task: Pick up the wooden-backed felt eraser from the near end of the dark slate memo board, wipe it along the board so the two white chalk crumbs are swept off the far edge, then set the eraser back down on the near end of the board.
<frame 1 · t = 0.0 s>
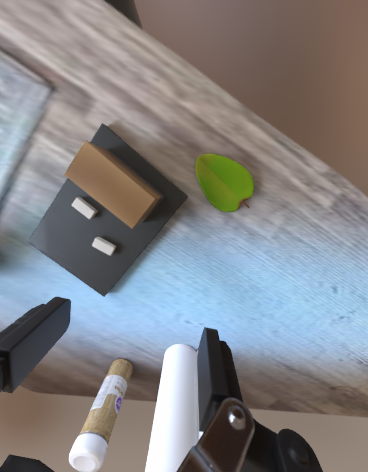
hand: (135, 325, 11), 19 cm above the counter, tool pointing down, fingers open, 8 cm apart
decorative leaf: (222, 185, 27), on the counter
eraser: (127, 186, 27), point 1 cm above the counter, touching memo board
memo board: (106, 219, 29), on the counter
chalk stroke 1: (86, 207, 28), point 1 cm above the counter, touching memo board
vase: (193, 359, 36), on the counter
sprinkles bottle: (122, 365, 37), on the counter
chalk stroke 2: (105, 245, 29), point 1 cm above the counter, touching memo board
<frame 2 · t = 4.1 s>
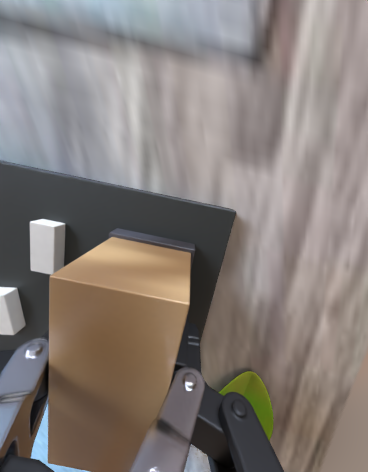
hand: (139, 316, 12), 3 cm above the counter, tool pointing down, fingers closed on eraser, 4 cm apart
decorative leaf: (228, 411, 17), on the counter
eraser: (144, 303, 13), point 1 cm above the counter, touching gripper, memo board
memo board: (64, 276, 14), on the counter
chalk stroke 1: (53, 244, 12), point 1 cm above the counter, touching memo board
chalk stroke 2: (12, 306, 13), point 1 cm above the counter, touching memo board
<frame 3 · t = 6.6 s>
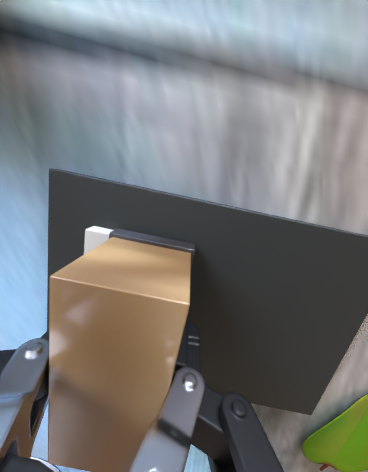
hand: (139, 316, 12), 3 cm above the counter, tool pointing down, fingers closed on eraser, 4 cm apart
decorative leaf: (338, 431, 17), on the counter
eraser: (144, 303, 13), point 1 cm above the counter, touching chalk stroke 2, gripper
memo board: (200, 301, 14), on the counter
chalk stroke 1: (103, 251, 12), point 1 cm above the counter, touching memo board
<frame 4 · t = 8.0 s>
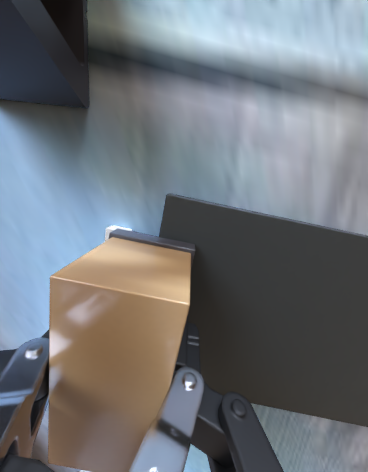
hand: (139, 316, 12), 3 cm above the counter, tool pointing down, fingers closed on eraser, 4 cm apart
eraser: (144, 303, 13), point 1 cm above the counter, touching gripper
phone stand: (36, 14, 10), on the counter
memo board: (290, 320, 14), on the counter
chalk stroke 1: (114, 252, 12), point 1 cm above the counter, tilted 180°
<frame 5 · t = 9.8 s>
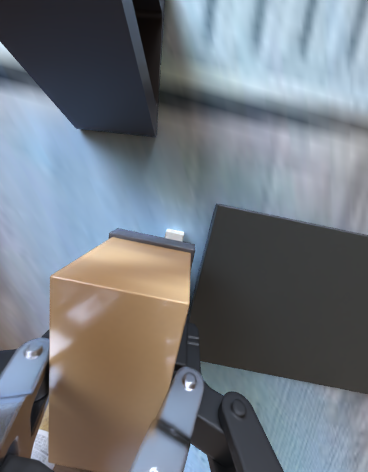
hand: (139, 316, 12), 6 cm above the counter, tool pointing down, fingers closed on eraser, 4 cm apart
eraser: (144, 303, 13), point 4 cm above the counter, touching gripper
phone stand: (119, 65, 13), on the counter
memo board: (310, 306, 17), on the counter
chalk stroke 1: (171, 251, 15), point 1 cm above the counter, tilted 180°
sprinkles bottle: (64, 403, 22), on the counter
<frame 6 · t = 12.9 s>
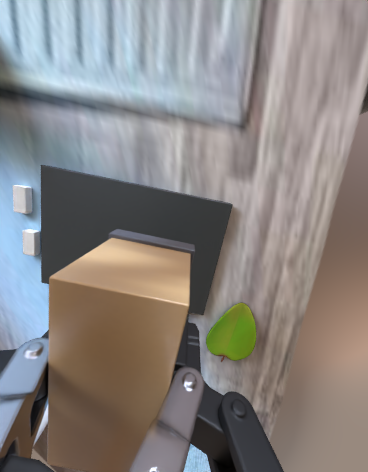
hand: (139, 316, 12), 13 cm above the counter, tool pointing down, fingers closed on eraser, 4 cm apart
decorative leaf: (229, 332, 27), on the counter
eraser: (144, 303, 13), point 11 cm above the counter, touching gripper
memo board: (132, 243, 24), on the counter
chalk stroke 1: (19, 199, 22), point 1 cm above the counter, tilted 180°
chalk stroke 2: (28, 243, 23), point 1 cm above the counter, tilted 180°
when the fingers open (3 cm above the counter, at t = 15.6 s): eraser stays where it is, resting on memo board.
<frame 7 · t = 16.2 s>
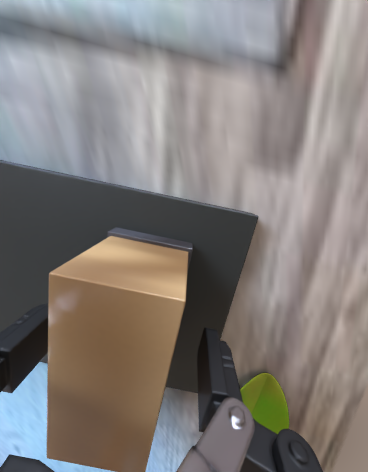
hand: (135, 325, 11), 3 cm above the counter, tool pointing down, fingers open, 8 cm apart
decorative leaf: (243, 412, 17), on the counter
eraser: (143, 301, 13), point 1 cm above the counter, touching memo board
memo board: (84, 279, 14), on the counter
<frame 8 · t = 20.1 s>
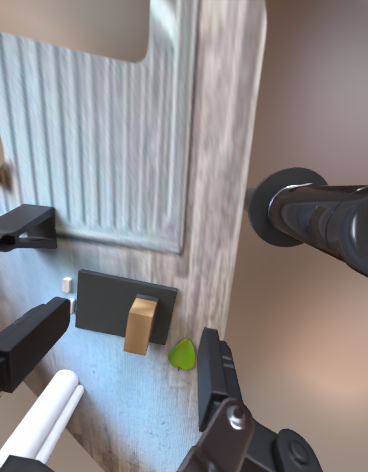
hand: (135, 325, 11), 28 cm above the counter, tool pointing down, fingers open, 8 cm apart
decorative leaf: (181, 354, 46), on the counter
eraser: (144, 314, 42), point 1 cm above the counter, touching memo board
phone stand: (42, 226, 39), on the counter
memo board: (125, 306, 44), on the counter
chalk stroke 1: (65, 286, 42), point 1 cm above the counter, tilted 180°
vase: (71, 384, 51), on the counter
chalk stroke 2: (69, 307, 43), point 1 cm above the counter, tilted 180°
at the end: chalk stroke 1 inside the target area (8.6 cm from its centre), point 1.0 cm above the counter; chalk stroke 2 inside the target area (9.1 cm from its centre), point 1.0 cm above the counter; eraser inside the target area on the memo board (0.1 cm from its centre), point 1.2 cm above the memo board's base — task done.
